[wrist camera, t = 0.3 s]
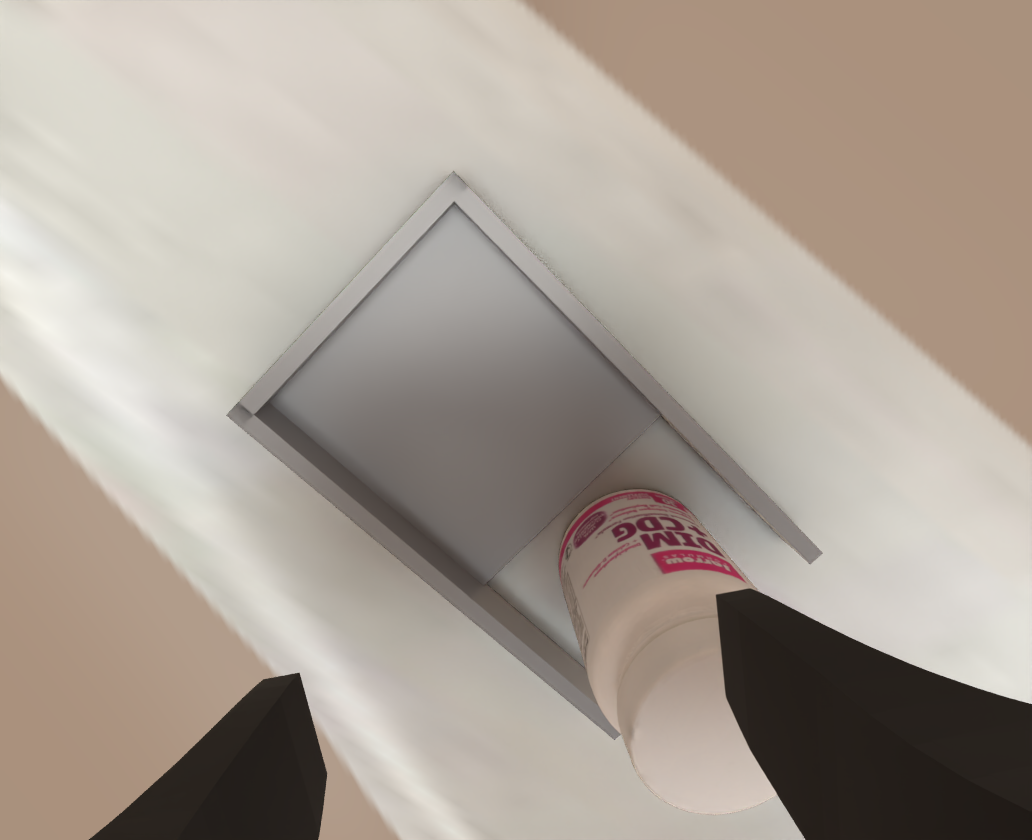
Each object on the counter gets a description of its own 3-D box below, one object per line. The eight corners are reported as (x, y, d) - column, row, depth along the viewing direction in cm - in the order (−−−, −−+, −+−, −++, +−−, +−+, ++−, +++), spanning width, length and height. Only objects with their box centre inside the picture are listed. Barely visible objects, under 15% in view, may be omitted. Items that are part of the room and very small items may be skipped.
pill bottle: (676, 461, 21) (810, 595, 13) (719, 590, 23) (866, 784, 14) (533, 517, 21) (579, 685, 13) (584, 642, 23) (654, 864, 15)
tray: (794, 528, 22) (822, 553, 21) (602, 702, 23) (614, 739, 22) (453, 178, 19) (453, 171, 17) (246, 400, 20) (226, 415, 18)
